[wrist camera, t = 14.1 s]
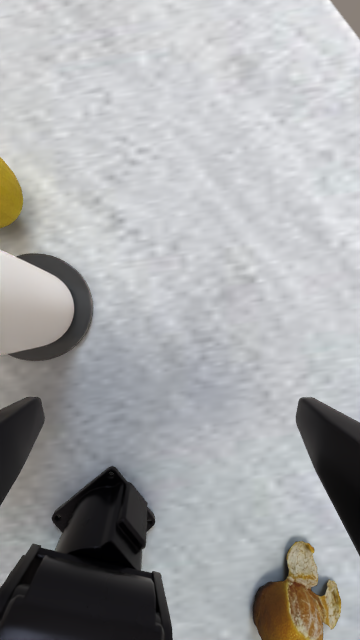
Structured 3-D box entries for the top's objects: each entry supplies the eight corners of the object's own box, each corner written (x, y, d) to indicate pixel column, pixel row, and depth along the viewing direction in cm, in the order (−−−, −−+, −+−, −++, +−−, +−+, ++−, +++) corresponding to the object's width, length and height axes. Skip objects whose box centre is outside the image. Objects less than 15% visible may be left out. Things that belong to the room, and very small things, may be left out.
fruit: (343, 597, 24) (378, 647, 20) (280, 654, 23) (304, 717, 19) (300, 533, 23) (327, 573, 19) (233, 589, 22) (249, 641, 19)
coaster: (27, 381, 21) (24, 382, 20) (-42, 296, 20) (-47, 295, 20) (114, 317, 22) (113, 317, 21) (49, 234, 21) (47, 232, 21)
